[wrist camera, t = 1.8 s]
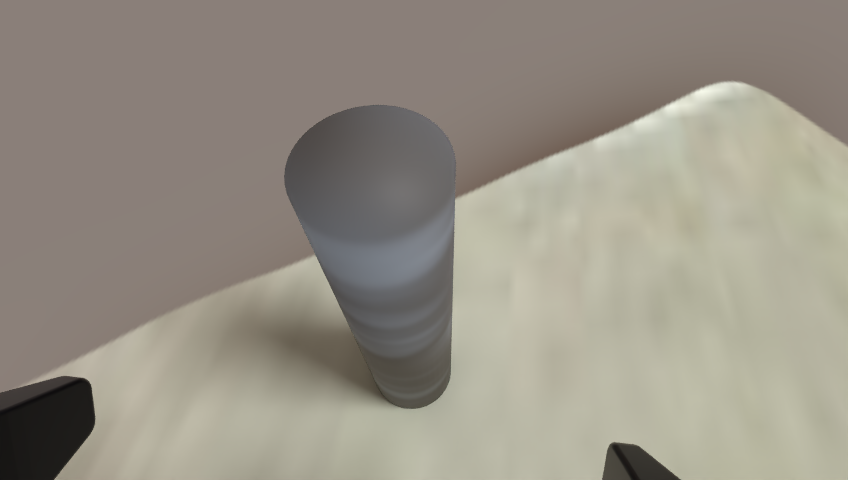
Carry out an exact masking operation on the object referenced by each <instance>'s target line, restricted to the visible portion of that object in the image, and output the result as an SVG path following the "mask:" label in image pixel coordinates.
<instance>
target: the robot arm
mask: <svg viewBox="0 0 848 480" xmlns="http://www.w3.org/2000/svg"><path fill="white" fill-rule="evenodd" d="M94 425H95V411H94V403H93V395H92V387H91V384H90V383H89V381H88V380H86V379H85V378H78V377H70V376H61V377H57V378H53V379H50V380H46V381H42V382H39V383H35V384H31V385H27V386H24V387H20V388H16V389H13V390H9V391H5V392H2V393H0V480H54V479H55V478H56V476H57V475H58V474H59V473H60V471H61V470H62V469H63V468H64V466H65V465H66V464H67V463H68V461H69V460H70V459H71V458H72V456H73V455H74V454H75V453H76V451H77V450H78V449H79V448H80V446H81V445H82V444H83V443H84V441H85V440H86V439H87V438H88V436H89V435H90V434H91V432H92V430H93V428H94ZM602 480H680V479H679V478H678V477H677V476H675V475H674V474H673V473H672V472H670V471H669V470H668V469H667V468H666V467H664V466H663V465H662V464H661V463H659V462H658V461H657V460H656V459H654V458H653V457H652V456H651V455H649V454H648V453H647V452H646V451H644V450H643V449H642V448H640V447H639V446H637V445H634V444H625V443H617V442H613V443H611V444H610V445H609V447H608V450H607V455H606V461H605V467H604V472H603V478H602Z"/></svg>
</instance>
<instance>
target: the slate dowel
mask: <svg viewBox="0 0 848 480" xmlns="http://www.w3.org/2000/svg"><path fill="white" fill-rule="evenodd" d="M455 177H456V160H455V153H454V151H453V147H452V145H451V143H450V141H449V139H448V137H447V136H446V135H445V133H444V132H443V131H442V130H441V129H440V128H439V127H438V126H437V125H436V124H435V123H434V122H432V121H431V120H430V119H428V118H426V117H424V116H423V115H421V114H419V113H416V112H414V111H411V110H408V109H404V108H400V107H396V106H387V105H370V106H361V107H355V108H351V109H347V110H344V111H341V112H338V113H336V114H333V115H331V116H329V117H327V118H325V119H323V120H322V121H320V122H318V123H317V124H316V125H314V126H313V127H312V128H310V129H309V130H308V131H307V132H306V133H305V134H304V135H303V136H302V137H301V138H300V139H299V140H298V142H297V143H296V144H295V146H294V148H293V149H292V151H291V153H290V155H289V157H288V160H287V163H286V168H285V175H284V178H285V187H286V191H287V195H288V197H289V199H290V202H291V204H292V206H293V208H294V210H295V212H296V214H297V216H298V219H299V221H300V223H301V225H302V227H303V229H304V231H305V233H306V236H307V238H308V240H309V242H310V244H311V246H312V248H313V250H314V253H315V255H316V257H317V259H318V261H319V263H320V265H321V267H322V269H323V272H324V274H325V276H326V278H327V280H328V282H329V284H330V286H331V289H332V291H333V293H334V295H335V297H336V299H337V301H338V303H339V305H340V308H341V310H342V312H343V314H344V316H345V318H346V320H347V322H348V324H349V327H350V329H351V331H352V333H353V335H354V337H355V339H356V341H357V344H358V346H359V348H360V350H361V352H362V354H363V356H364V358H365V360H366V363H367V365H368V367H369V369H370V371H371V373H372V375H373V377H374V380H375V382H376V384H377V386H378V388H379V390H380V391H381V393H382V394H383V396H384V397H385V398H386V399H387V400H388V401H390V402H391V403H393V404H395V405H397V406H399V407H403V408H409V409H414V408H421V407H424V406H427V405H429V404H431V403H433V402H434V401H435V400H437V399H438V398H439V397H440V396H441V395H442V393H443V392H444V391H445V389H446V387H447V385H448V383H449V379H450V374H451V337H452V298H453V258H454V218H455Z"/></svg>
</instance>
